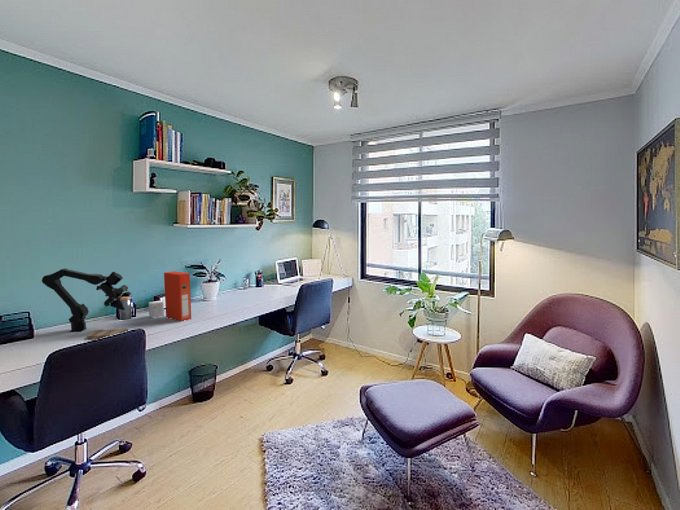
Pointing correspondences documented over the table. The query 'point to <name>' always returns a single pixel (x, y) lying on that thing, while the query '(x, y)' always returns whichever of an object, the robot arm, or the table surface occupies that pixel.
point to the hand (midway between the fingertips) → (127, 308)
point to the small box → (156, 309)
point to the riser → (104, 333)
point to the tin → (127, 312)
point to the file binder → (177, 295)
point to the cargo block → (124, 298)
